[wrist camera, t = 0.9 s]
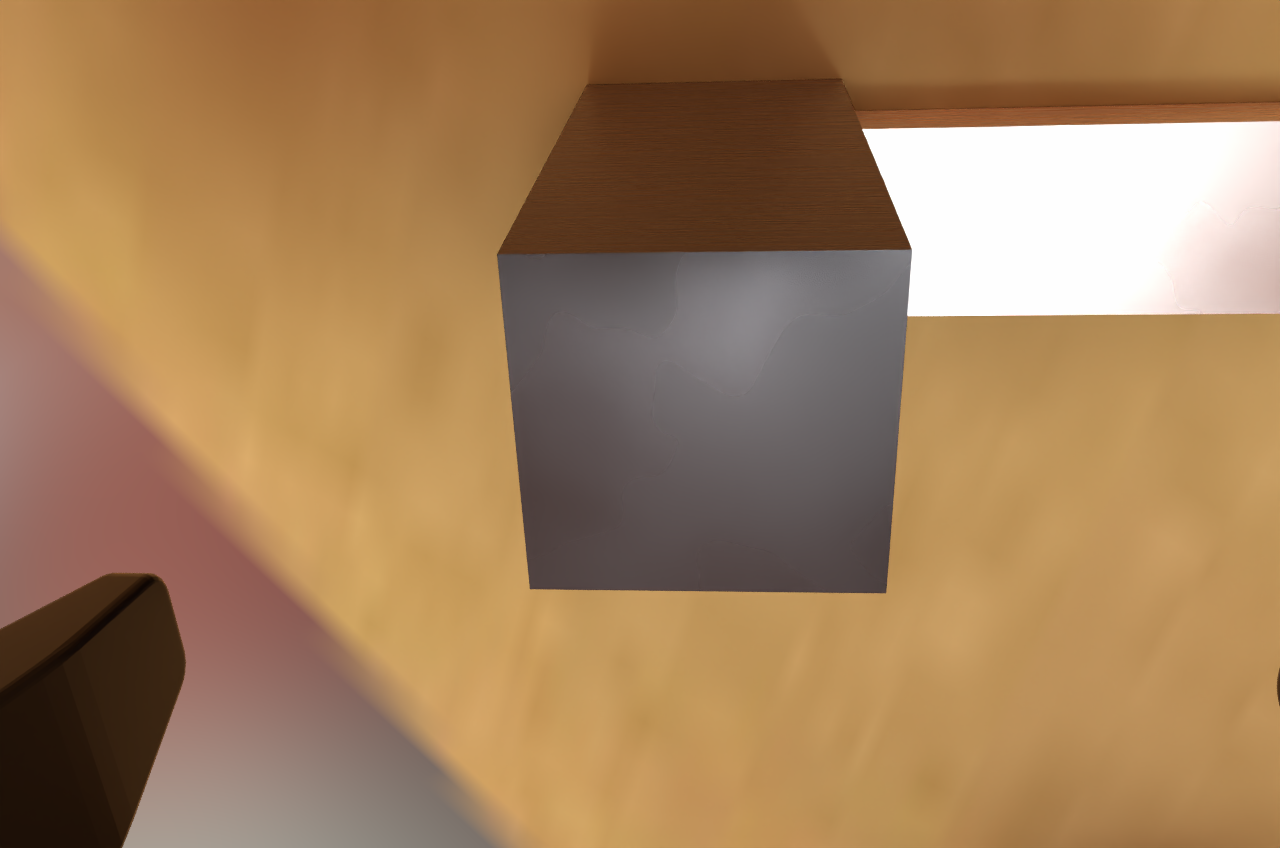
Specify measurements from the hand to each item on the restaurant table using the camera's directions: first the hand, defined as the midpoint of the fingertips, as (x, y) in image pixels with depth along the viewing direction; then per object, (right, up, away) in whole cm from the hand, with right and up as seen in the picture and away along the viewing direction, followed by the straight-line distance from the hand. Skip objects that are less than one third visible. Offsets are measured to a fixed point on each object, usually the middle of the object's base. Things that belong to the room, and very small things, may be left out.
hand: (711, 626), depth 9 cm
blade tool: (+10, +5, +9) cm, 15 cm away
